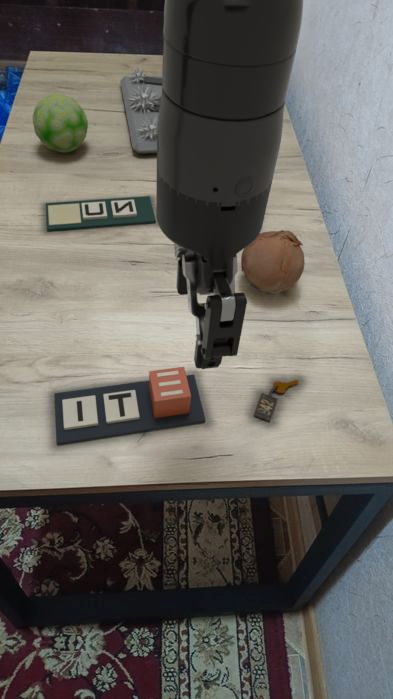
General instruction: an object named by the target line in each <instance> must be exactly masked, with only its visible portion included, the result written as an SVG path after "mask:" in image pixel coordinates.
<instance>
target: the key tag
mask: <svg viewBox="0 0 393 699" xmlns="http://www.w3.org/2000/svg"><path fill="white" fill-rule="evenodd" d="M298 383H299V380H298V379H295V380H291V381H289V382H286V381H278V380H277V381H275V382H273V383H272V384H273V385H272V388H271V389H270V390H269V392H268V394H266V393H263V392H261V395H260V397H259V400H258V402H257V405H256V408H255V411H254V413H253V416H254V417H256V418H259V419H262V420H264V421H266V422H271V419H272V416H273V414H274V411H275V409H276V405H277V402H278V398H277V397H274V396H272V395H273V393H274V392H275V393H278V394H284V393H286V391H287V389H289V387H292V386H295V385H298Z"/></svg>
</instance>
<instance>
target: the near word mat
mask: <svg viewBox="0 0 393 699" xmlns="http://www.w3.org/2000/svg"><path fill="white" fill-rule="evenodd" d="M186 376H187V381H188V385H189V389H190V393H191V402H190V411H189V413H187V414H180V415H173V416H167V417H160V418H154V413H153V407H152V402H151V396H150V391H149V380H142V381H136V382H126V383H120V384H113V385H104V386H99V387H90V388H84V389H76V390H68V391H61V392H55V393H54V394H53V396H54V416H55V417H54V418H55V419H54V420H55V438H56V440H55V441H56V445H58V446H59V445H65V444H71V443H78V442H79V443H80V442H86V441H91V440H98V439H104V438H112V437H116V436H117V437H118V436H124V435H130V434H136V433H137V434H138V433H142V432H149V431H155V430H156V431H157V430H163V429H169V428H176V427H182V426H187V425H188V426H189V425H195V424H201V423H206V417H205V413H204V410H203V403H202V401H201V396H200V392H199V387H198V384H197V380H196V376H195V374H193V373H192V374H186Z"/></svg>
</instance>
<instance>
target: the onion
mask: <svg viewBox="0 0 393 699" xmlns="http://www.w3.org/2000/svg"><path fill="white" fill-rule="evenodd" d="M301 246H304V245H303V243H302V241H300V240H299V238H298V237H297V235H295V233H294V232H293V231H291V230H283V229H281V230H278V231H277V230H272V231H270V230H269V231H264V232H260V233H259V235H258V236H257V238H256V239H255V240H254V241H253V242H252V243H251V244H249V245H248V246H247V247H245V248H244V249H242V253H241V257H240V260H241V261H240V268H241V272H243V275H244V278H246V279H247V281H248V282H249V283H250V286H251V287H252V288H255V289H256V290H259V291H261V292H263V293H266V294H267V295H269V294H275V295H279V294H280V293H281V292H284V291H287V290H288V289H290V288H293V287H294V286H295V285H296V284H297V282H299V280H300V278H301V277H302V275H303V272H304V269H305V265H306V264H305V254H304V251H303V248H302V247H301Z"/></svg>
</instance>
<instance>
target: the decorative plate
mask: <svg viewBox="0 0 393 699" xmlns="http://www.w3.org/2000/svg"><path fill="white" fill-rule="evenodd" d="M130 71H131V72H129V73H128V74H129V75H124V76H123V78H121V79H120V81H119V82H120V87H121V93H122V98H123V104H124V109H125V114H126V121H127V125H128V130H129V137H130V141H131V146H132V150H133V151H134V152H135V153H136V154H138V155H140V154H141V155H142V154H143V155H144V154H157V125H158V115H159V108H160V102H161V95H162V75H148V74H147V73H148V72H144V71H145V69H143V68H140V69H139V67H138V66H137V67H136V68H135V67H133V70H132V69H130Z"/></svg>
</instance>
